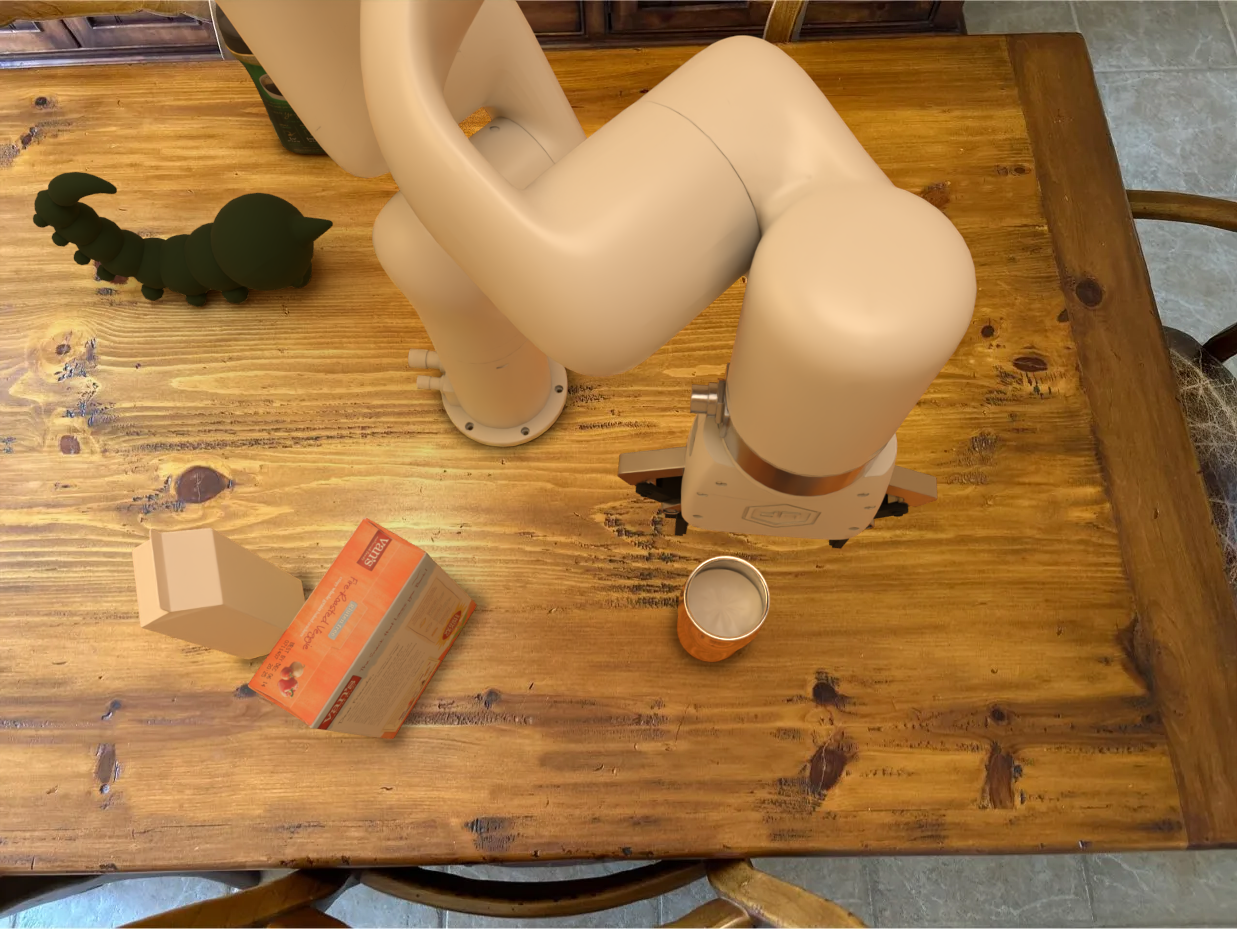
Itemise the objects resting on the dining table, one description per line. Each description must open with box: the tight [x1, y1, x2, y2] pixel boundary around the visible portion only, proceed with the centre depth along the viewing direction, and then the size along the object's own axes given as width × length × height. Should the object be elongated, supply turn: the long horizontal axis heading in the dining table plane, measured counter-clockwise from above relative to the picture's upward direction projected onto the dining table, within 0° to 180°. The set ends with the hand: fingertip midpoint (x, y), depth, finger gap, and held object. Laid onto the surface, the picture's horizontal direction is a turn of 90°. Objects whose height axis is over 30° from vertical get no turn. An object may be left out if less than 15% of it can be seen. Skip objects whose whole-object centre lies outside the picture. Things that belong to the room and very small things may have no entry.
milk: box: [131, 527, 306, 661], centre depth 71 cm, size 6×6×22 cm
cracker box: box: [247, 516, 478, 740], centre depth 71 cm, size 14×6×21 cm, turn 150°
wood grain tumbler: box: [676, 554, 771, 663], centre depth 74 cm, size 7×7×15 cm
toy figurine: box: [32, 171, 334, 308], centre depth 85 cm, size 9×19×25 cm
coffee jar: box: [215, 2, 328, 155], centre depth 91 cm, size 10×8×19 cm
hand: (757, 518), depth 56 cm, fingers open, 9 cm apart
